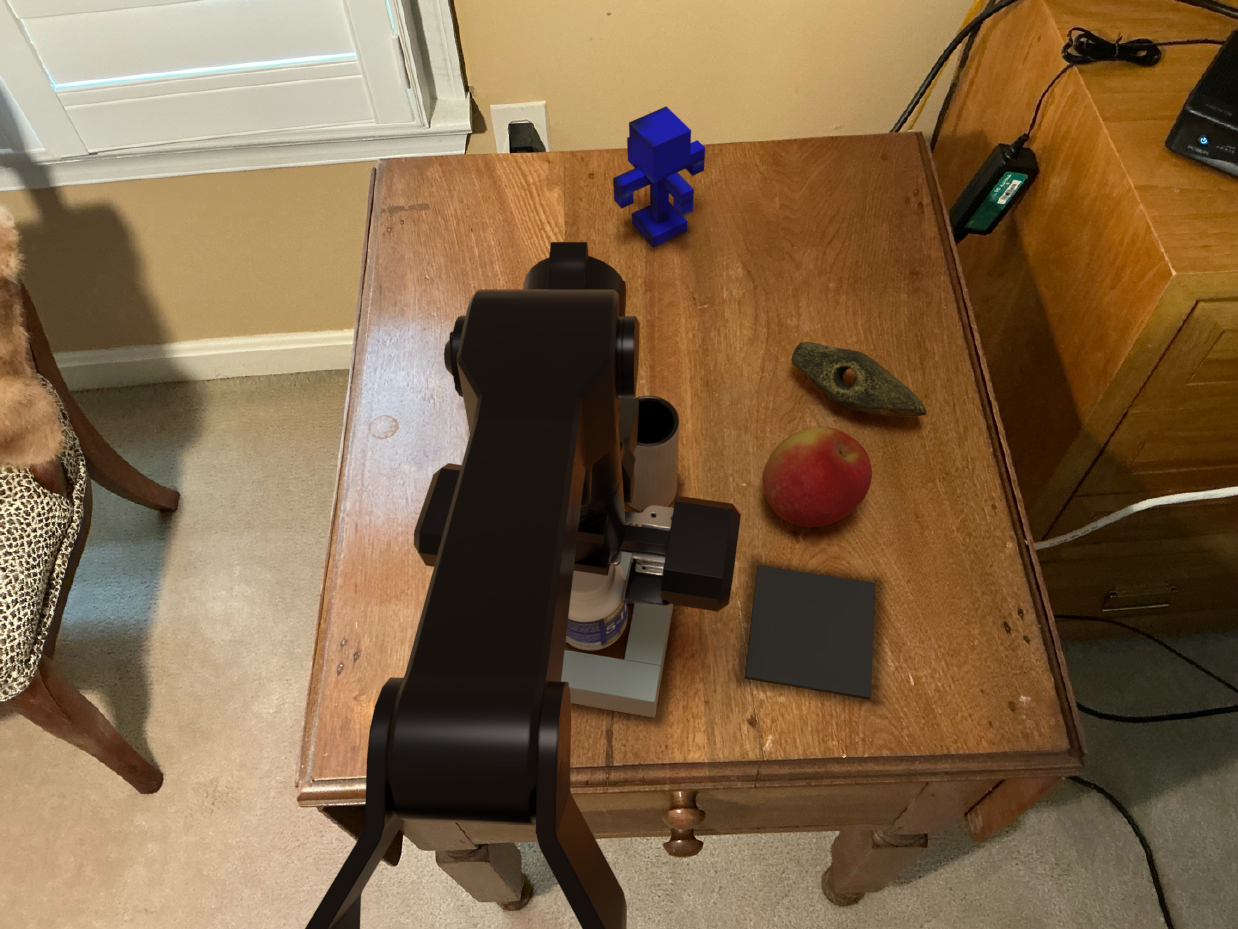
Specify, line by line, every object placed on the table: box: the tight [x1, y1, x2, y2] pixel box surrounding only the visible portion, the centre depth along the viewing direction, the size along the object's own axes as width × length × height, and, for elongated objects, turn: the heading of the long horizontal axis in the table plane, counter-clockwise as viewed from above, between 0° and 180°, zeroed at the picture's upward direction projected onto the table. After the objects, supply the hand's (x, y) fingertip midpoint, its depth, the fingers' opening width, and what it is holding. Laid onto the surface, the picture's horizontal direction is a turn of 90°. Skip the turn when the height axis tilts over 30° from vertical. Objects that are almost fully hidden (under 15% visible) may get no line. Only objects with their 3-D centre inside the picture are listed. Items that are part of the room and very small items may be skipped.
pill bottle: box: [566, 564, 629, 651], centre depth 60 cm, size 5×5×9 cm
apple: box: [762, 426, 873, 528], centre depth 68 cm, size 8×8×8 cm
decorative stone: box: [790, 341, 928, 418], centre depth 75 cm, size 11×8×5 cm
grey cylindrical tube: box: [627, 395, 680, 513], centre depth 69 cm, size 4×4×10 cm
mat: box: [744, 565, 876, 700], centre depth 66 cm, size 9×9×1 cm
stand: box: [561, 552, 674, 719], centre depth 65 cm, size 11×11×4 cm
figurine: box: [612, 105, 706, 248], centre depth 83 cm, size 8×8×12 cm
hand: (587, 589), depth 59 cm, fingers closed on pill bottle, 5 cm apart
